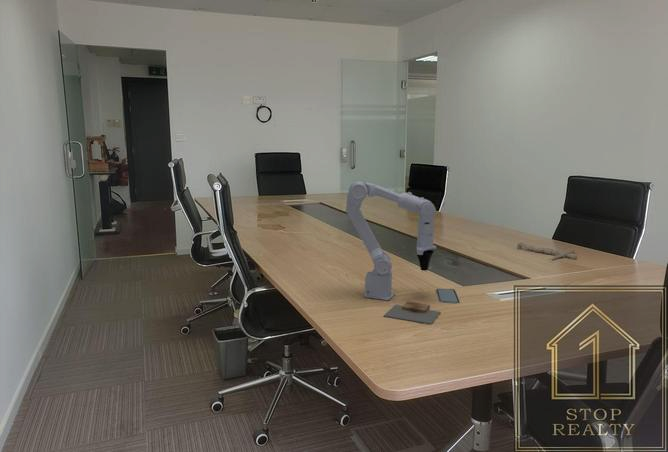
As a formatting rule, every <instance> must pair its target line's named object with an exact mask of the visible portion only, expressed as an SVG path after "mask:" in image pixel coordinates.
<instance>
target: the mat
mask: <svg viewBox="0 0 668 452" xmlns="http://www.w3.org/2000/svg"><path fill="white" fill-rule="evenodd" d="M402 306H403V305H400V304H395V305H393V306H391V308H390V309H389V310H388V311H387V312H385V314H384V315H383V317H384V318H390V319H395V320H401V321H406V320H407V322H412V321H413V323H417V324H418V323H419V324H424V323H425V324H424V325H430V324H432V325H433V323H434V322H435V321H436V320H435V319H437V318H438V317H439V316H440V314H441V313H442V312H441V311H438V310H432V309H429V311H428V312H427V313H426V314H425V315H424V314H418V313H412V312H406V311H402ZM438 315H439V316H438ZM434 320H435V321H434Z"/></svg>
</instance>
